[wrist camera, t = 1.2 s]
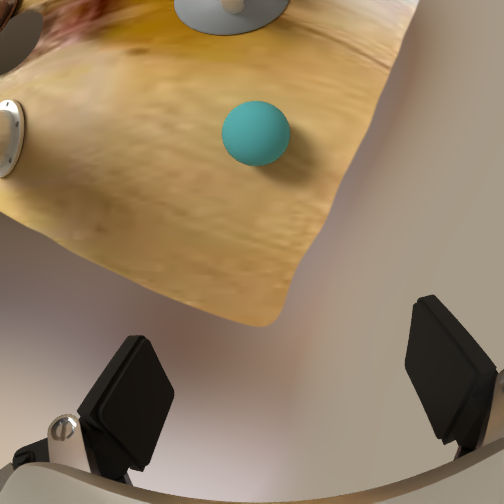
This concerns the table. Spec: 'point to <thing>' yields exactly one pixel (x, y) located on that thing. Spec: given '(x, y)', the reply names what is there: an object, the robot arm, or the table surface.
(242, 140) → the ball
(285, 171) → the table surface
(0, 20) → the cup and saucer
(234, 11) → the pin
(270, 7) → the pin spot
